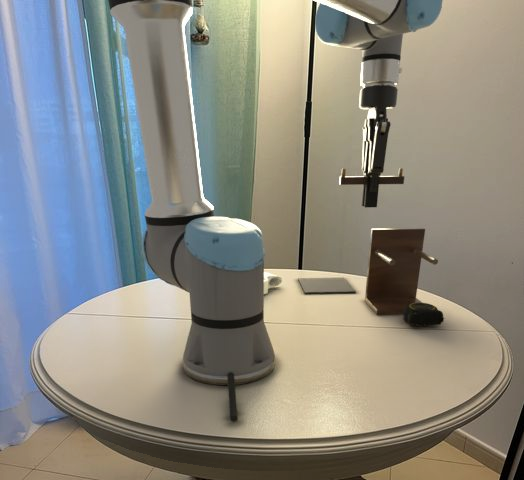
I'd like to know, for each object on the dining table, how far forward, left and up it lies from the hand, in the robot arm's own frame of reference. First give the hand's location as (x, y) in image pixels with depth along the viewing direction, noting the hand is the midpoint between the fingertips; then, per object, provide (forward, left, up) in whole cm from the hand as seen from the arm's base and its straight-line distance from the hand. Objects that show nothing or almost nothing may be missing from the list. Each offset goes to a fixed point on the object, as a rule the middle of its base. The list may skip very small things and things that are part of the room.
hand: (369, 206), depth 102 cm
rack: (-8, -6, -22) cm, 24 cm away
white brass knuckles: (+13, +28, -22) cm, 38 cm away
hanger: (0, 0, +5) cm, 5 cm away
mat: (+12, +7, -22) cm, 26 cm away
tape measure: (-19, -8, -22) cm, 30 cm away
